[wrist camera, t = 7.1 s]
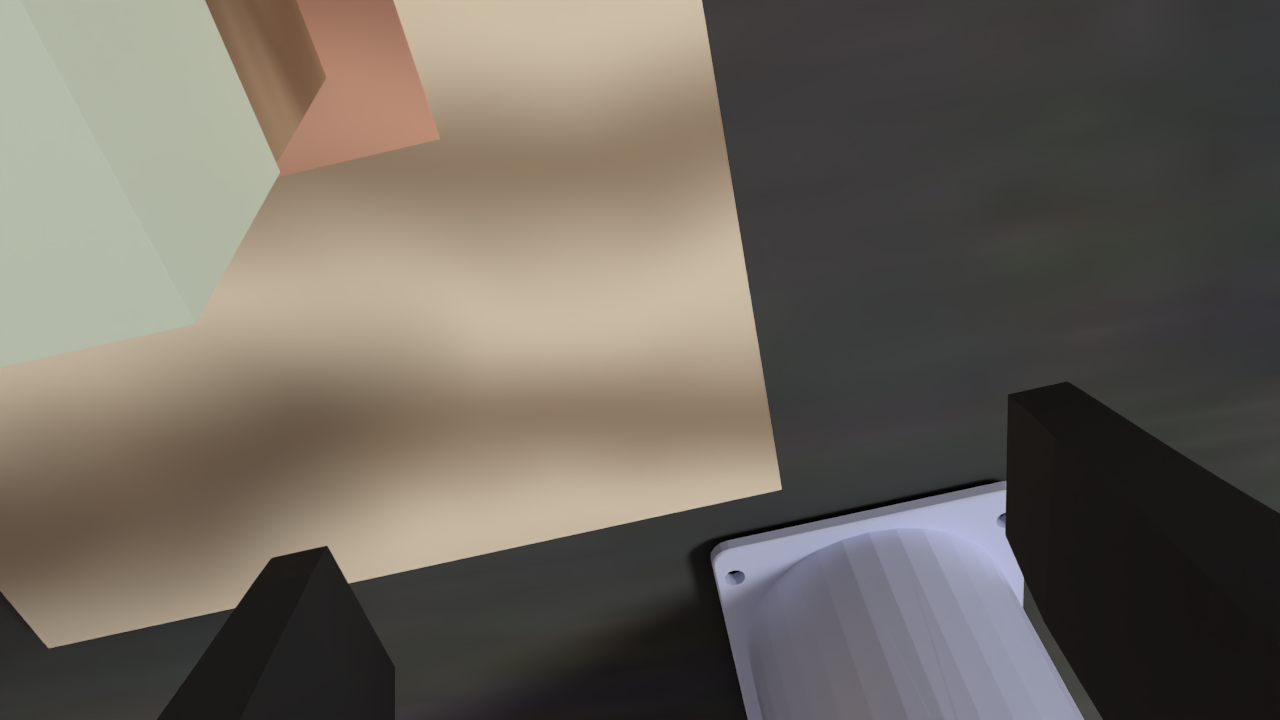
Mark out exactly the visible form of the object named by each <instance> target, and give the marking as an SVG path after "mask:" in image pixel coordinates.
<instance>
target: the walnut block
mask: <svg viewBox="0 0 1280 720" xmlns="http://www.w3.org/2000/svg"><path fill="white" fill-rule="evenodd" d="M205 2H206V4H207V6H208V8H209V11H210V13H211V15H212V17H213V20H214V22H215V24H216V27H217V29H218V31H219V33H220V36H221V38H222V40H223V43H224V45H225V47H226V49H227V52H228V54H229V56H230V59H231V61H232V63H233V65H234V68H235V70H236V72H237V74H238V77H239V79H240V81H241V84H242V86H243V88H244V90H245V93H246V95H247V97H248V100H249V102H250V104H251V106H252V109H253V111H254V113H255V116H256V118H257V120H258V122H259V125H260V127H261V129H262V132H263V134H264V136H265V138H266V141H267V143H268V145H269V147H270V150H271V152H272V154H273V157H274V159H275V161H276V163H277V162H278V160H279V159H280V157H281V155H282V153H283V152H284V150H285V148H286V147H287V145H288V143H289V141H290V140H291V138H292V136H293V134H294V133H295V131H296V129H297V128H298V126H299V124H300V122H301V121H302V119H303V117H304V115H305V114H306V112H307V110H308V109H309V107H310V105H311V103H312V102H313V100H314V98H315V96H316V95H317V93H318V91H319V90H320V88H321V86H322V84H323V83H324V81H325V79H326V75H325V72H324V70H323V67H322V65H321V62H320V60H319V57H318V54H317V52H316V49H315V47H314V44H313V42H312V39H311V37H310V34H309V32H308V29H307V26H306V24H305V21H304V19H303V16H302V14H301V11H300V9H299V6H298V4H297V1H296V0H205Z"/></svg>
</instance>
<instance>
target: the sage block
mask: <svg viewBox="0 0 1280 720" xmlns="http://www.w3.org/2000/svg"><path fill="white" fill-rule="evenodd" d="M279 174H280V170H279V168H278V166H277V163H276V161H275V159H274V157H273V154H272V152H271V150H270V147H269V145H268V143H267V141H266V138H265V136H264V134H263V132H262V129H261V127H260V125H259V122H258V120H257V118H256V116H255V113H254V111H253V109H252V106H251V104H250V102H249V100H248V97H247V95H246V93H245V90H244V88H243V86H242V84H241V81H240V79H239V77H238V74H237V72H236V70H235V68H234V65H233V63H232V61H231V59H230V56H229V54H228V52H227V49H226V47H225V45H224V43H223V40H222V38H221V36H220V33H219V31H218V29H217V27H216V24H215V22H214V20H213V17H212V15H211V13H210V11H209V8H208V6H207V4H206V2H205V0H0V367H5V366H9V365H14V364H18V363H23V362H27V361H32V360H36V359H41V358H45V357H50V356H54V355H59V354H63V353H68V352H72V351H77V350H81V349H86V348H90V347H95V346H99V345H104V344H108V343H113V342H117V341H122V340H126V339H130V338H135V337H139V336H144V335H148V334H153V333H157V332H162V331H166V330H171V329H175V328H180V327H184V326H189V325H193V324H196V322H197V320H198V318H199V317H200V315H201V313H202V311H203V309H204V308H205V306H206V304H207V302H208V301H209V299H210V297H211V295H212V293H213V292H214V290H215V288H216V286H217V284H218V283H219V281H220V279H221V277H222V275H223V274H224V272H225V270H226V268H227V267H228V265H229V263H230V261H231V259H232V258H233V256H234V254H235V252H236V250H237V249H238V247H239V245H240V243H241V242H242V240H243V238H244V236H245V234H246V233H247V231H248V229H249V227H250V225H251V224H252V222H253V220H254V218H255V217H256V215H257V213H258V211H259V209H260V208H261V206H262V204H263V202H264V200H265V199H266V197H267V195H268V193H269V191H270V190H271V188H272V186H273V184H274V183H275V181H276V179H277V177H278V175H279Z"/></svg>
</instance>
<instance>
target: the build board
mask: <svg viewBox="0 0 1280 720" xmlns="http://www.w3.org/2000/svg"><path fill="white" fill-rule="evenodd" d="M296 1H297V4H298V6H299V9H300V11H301V14H302V16H303V19H304V21H305V24H306V26H307V29H308V32H309V34H310V37H311V39H312V42H313V44H314V47H315V49H316V52H317V54H318V57H319V60H320V62H321V65H322V67H323V70H324V72H325V75H326V79H325V81H324V83H323V84H322V86H321V88H320V90H319V91H318V93H317V95H316V96H315V98H314V100H313V102H312V103H311V105H310V107H309V109H308V110H307V112H306V114H305V115H304V117H303V119H302V121H301V122H300V124H299V126H298V128H297V129H296V131H295V133H294V134H293V136H292V138H291V140H290V141H289V143H288V145H287V147H286V148H285V150H284V152H283V153H282V155H281V157H280V159H279V160H278V162H277V166H278V168H279V170H280V174H279V175H278V177H277V179H276V181H275V183H274V184H273V186H272V188H271V190H270V191H269V193H268V195H267V197H266V199H265V200H264V202H263V204H262V206H261V208H260V209H259V211H258V213H257V215H256V217H255V218H254V220H253V222H252V224H251V225H250V227H249V229H248V231H247V233H246V234H245V236H244V238H243V240H242V242H241V243H240V245H239V247H238V249H237V250H236V252H235V254H234V256H233V258H232V259H231V261H230V263H229V265H228V267H227V268H226V270H225V272H224V274H223V275H222V277H221V279H220V281H219V283H218V284H217V286H216V288H215V290H214V292H213V293H212V295H211V297H210V299H209V301H208V302H207V304H206V306H205V308H204V309H203V311H202V313H201V315H200V317H199V318H198V320H197V322H196V324H193V325H189V326H184V327H180V328H175V329H171V330H166V331H162V332H157V333H153V334H148V335H144V336H139V337H135V338H130V339H126V340H122V341H117V342H113V343H108V344H104V345H99V346H95V347H90V348H86V349H81V350H77V351H72V352H68V353H63V354H59V355H54V356H50V357H45V358H41V359H36V360H32V361H27V362H23V363H18V364H14V365H9V366H5V367H0V591H1V592H2V594H3V595H4V596H5V597H6V598H7V600H8V601H9V602H10V603H11V604H12V606H13V607H14V608H15V609H16V610H17V612H18V613H19V614H20V615H21V616H22V617H23V619H24V620H25V621H26V622H27V623H28V625H29V626H30V627H31V628H32V629H33V631H34V632H35V633H36V634H37V635H38V637H39V638H40V639H41V640H42V641H43V642H44V644H45V645H46V646H47V647H48V648H53V647H57V646H62V645H67V644H71V643H76V642H81V641H85V640H90V639H94V638H99V637H104V636H108V635H113V634H117V633H122V632H127V631H131V630H136V629H141V628H145V627H150V626H154V625H159V624H164V623H168V622H173V621H177V620H182V619H187V618H191V617H196V616H201V615H205V614H210V613H214V612H219V611H224V610H228V609H233V608H236V607H237V605H238V604H239V602H240V601H241V599H242V598H243V597H244V595H245V594H246V592H247V591H248V589H249V588H250V587H251V585H252V584H253V582H254V581H255V580H256V578H257V577H258V575H259V574H260V573H261V571H262V570H263V569H264V567H265V566H266V565H267V563H268V562H269V561H270V559H271V558H273V557H278V556H282V555H287V554H291V553H296V552H300V551H305V550H309V549H314V548H318V547H323V546H328V548H329V550H330V551H331V553H332V555H333V557H334V559H335V560H336V562H337V564H338V566H339V568H340V569H341V571H342V573H343V575H344V577H345V578H346V580H347V582H348V583H353V582H357V581H362V580H367V579H371V578H376V577H381V576H385V575H390V574H394V573H399V572H404V571H408V570H413V569H417V568H422V567H427V566H431V565H436V564H440V563H445V562H450V561H454V560H459V559H464V558H468V557H473V556H477V555H482V554H487V553H491V552H496V551H500V550H505V549H510V548H514V547H519V546H524V545H528V544H533V543H537V542H542V541H547V540H551V539H556V538H560V537H565V536H570V535H574V534H579V533H584V532H588V531H593V530H597V529H602V528H607V527H611V526H616V525H620V524H625V523H630V522H634V521H639V520H644V519H648V518H653V517H657V516H662V515H667V514H671V513H676V512H680V511H685V510H690V509H694V508H699V507H704V506H708V505H713V504H717V503H722V502H727V501H731V500H736V499H740V498H745V497H750V496H754V495H759V494H764V493H768V492H773V491H777V490H782V487H781V481H780V475H779V469H778V462H777V456H776V450H775V444H774V438H773V432H772V426H771V420H770V414H769V407H768V401H767V395H766V389H765V383H764V377H763V371H762V365H761V359H760V352H759V346H758V340H757V334H756V328H755V322H754V316H753V310H752V304H751V297H750V291H749V285H748V279H747V273H746V267H745V261H744V255H743V249H742V242H741V236H740V230H739V224H738V218H737V212H736V206H735V200H734V194H733V187H732V181H731V175H730V169H729V163H728V157H727V151H726V145H725V139H724V132H723V126H722V120H721V114H720V108H719V102H718V96H717V90H716V84H715V78H714V71H713V65H712V59H711V53H710V47H709V41H708V35H707V29H706V23H705V16H704V10H703V4H702V0H296Z"/></svg>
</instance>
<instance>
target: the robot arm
mask: <svg viewBox="0 0 1280 720" xmlns="http://www.w3.org/2000/svg"><path fill="white" fill-rule="evenodd" d="M1003 513H1006V515H1003V516H1001V517H999V516H1000V515H1001V514H1003ZM711 563H712V567H713V572H714V576H715V580H716V585H717V589H718V593H719V598H720V602H721V606H722V611H723V615H724V619H725V624H726V628H727V632H728V636H729V641H730V645H731V649H732V654H733V658H734V662H735V667H736V671H737V675H738V680H739V684H740V688H741V693H742V697H743V701H744V705H745V710H746V714H747V718H748V720H1084V719H1083V717H1082V715H1081V713H1080V712H1079V710H1078V708H1077V706H1076V704H1075V702H1074V701H1073V699H1072V697H1071V695H1070V693H1069V692H1068V690H1067V688H1066V686H1065V684H1064V682H1063V681H1062V679H1061V677H1060V675H1059V673H1058V671H1057V670H1056V668H1055V666H1054V664H1053V662H1052V661H1051V659H1050V657H1049V655H1048V653H1047V651H1046V650H1045V648H1044V646H1043V644H1042V642H1041V641H1040V639H1039V637H1038V635H1037V633H1036V631H1035V630H1034V628H1033V626H1032V624H1031V622H1030V621H1029V619H1028V617H1027V615H1026V613H1025V611H1024V610H1023V587H1024V579H1025V581H1026V583H1027V586H1028V588H1029V590H1030V592H1031V594H1032V596H1033V599H1034V601H1035V603H1036V605H1037V607H1038V609H1039V611H1040V614H1041V616H1042V618H1043V620H1044V622H1045V624H1046V625H1047V627H1048V629H1049V631H1050V632H1051V634H1052V636H1053V637H1054V639H1055V641H1056V642H1057V644H1058V646H1059V647H1060V649H1061V651H1062V652H1063V654H1064V656H1065V657H1066V659H1067V661H1068V662H1069V664H1070V666H1071V667H1072V669H1073V671H1074V672H1075V674H1076V676H1077V677H1078V679H1079V681H1080V682H1081V684H1082V686H1083V687H1084V689H1085V691H1086V692H1087V694H1088V696H1089V697H1090V699H1091V700H1092V702H1093V704H1094V705H1095V707H1096V709H1097V710H1098V712H1099V714H1100V715H1101V717H1102V718H1103V720H1280V514H1279V513H1278V512H1276V511H1274V510H1272V509H1271V508H1269V507H1267V506H1266V505H1264V504H1262V503H1261V502H1259V501H1257V500H1255V499H1254V498H1252V497H1250V496H1249V495H1247V494H1245V493H1244V492H1242V491H1240V490H1239V489H1237V488H1235V487H1234V486H1232V485H1230V484H1229V483H1227V482H1226V481H1224V480H1222V479H1221V478H1219V477H1217V476H1216V475H1214V474H1212V473H1211V472H1209V471H1208V470H1206V469H1204V468H1203V467H1201V466H1200V465H1198V464H1196V463H1195V462H1193V461H1191V460H1190V459H1188V458H1187V457H1185V456H1183V455H1182V454H1180V453H1179V452H1177V451H1176V450H1174V449H1172V448H1171V447H1169V446H1168V445H1166V444H1165V443H1163V442H1161V441H1160V440H1158V439H1157V438H1155V437H1154V436H1152V435H1150V434H1149V433H1147V432H1146V431H1144V430H1143V429H1141V428H1140V427H1138V426H1136V425H1135V424H1133V423H1132V422H1130V421H1129V420H1127V419H1126V418H1124V417H1122V416H1121V415H1119V414H1118V413H1116V412H1115V411H1113V410H1112V409H1110V408H1109V407H1107V406H1105V405H1104V404H1102V403H1101V402H1099V401H1098V400H1096V399H1095V398H1093V397H1091V396H1090V395H1088V394H1087V393H1085V392H1084V391H1082V390H1080V389H1079V388H1077V387H1076V386H1074V385H1072V384H1071V383H1069V382H1063V383H1059V384H1054V385H1050V386H1045V387H1041V388H1036V389H1032V390H1027V391H1023V392H1018V393H1014V394H1009V395H1008V428H1007V477H1006V481H1003V482H997V483H992V484H988V485H983V486H978V487H974V488H969V489H965V490H960V491H955V492H951V493H946V494H941V495H937V496H932V497H927V498H923V499H918V500H913V501H909V502H904V503H899V504H895V505H890V506H885V507H881V508H876V509H872V510H867V511H862V512H858V513H853V514H848V515H844V516H839V517H834V518H830V519H825V520H820V521H816V522H811V523H806V524H802V525H797V526H793V527H788V528H783V529H779V530H774V531H769V532H765V533H760V534H755V535H751V536H746V537H741V538H737V539H732V540H727V541H724V542H722V543H719V544H718V545H717V546H716V547H714V549H713V550H712V552H711ZM731 571H739V572H737V573H734V574H728V573H729V572H731ZM157 720H395V667H394V665H393V663H392V661H391V660H390V658H389V656H388V654H387V652H386V651H385V649H384V647H383V645H382V643H381V642H380V640H379V638H378V636H377V634H376V633H375V631H374V629H373V627H372V625H371V624H370V622H369V620H368V618H367V616H366V615H365V613H364V611H363V609H362V607H361V605H360V604H359V602H358V600H357V598H356V596H355V595H354V593H353V591H352V589H351V587H350V586H349V584H348V582H347V580H346V578H345V577H344V575H343V573H342V571H341V569H340V568H339V566H338V564H337V562H336V560H335V559H334V557H333V555H332V553H331V551H330V550H329V548H328V546H323V547H318V548H314V549H309V550H305V551H300V552H296V553H291V554H287V555H282V556H278V557H273V558H271V559H270V561H269V562H268V563H267V565H266V566H265V567H264V569H263V570H262V571H261V573H260V574H259V575H258V577H257V578H256V580H255V581H254V582H253V584H252V585H251V587H250V588H249V589H248V591H247V592H246V594H245V595H244V597H243V598H242V599H241V601H240V602H239V604H238V605H237V607H236V608H235V609H234V611H233V612H232V614H231V615H230V617H229V618H228V620H227V621H226V622H225V624H224V625H223V627H222V628H221V630H220V631H219V633H218V634H217V635H216V637H215V638H214V640H213V641H212V643H211V644H210V646H209V647H208V648H207V650H206V651H205V653H204V654H203V656H202V657H201V659H200V660H199V661H198V663H197V664H196V666H195V667H194V668H193V670H192V671H191V673H190V674H189V675H188V677H187V678H186V680H185V681H184V683H183V684H182V685H181V687H180V688H179V690H178V691H177V692H176V694H175V695H174V697H173V698H172V699H171V701H170V702H169V704H168V705H167V706H166V708H165V709H164V711H163V712H162V713H161V715H160V716H159V718H158V719H157Z"/></svg>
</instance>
